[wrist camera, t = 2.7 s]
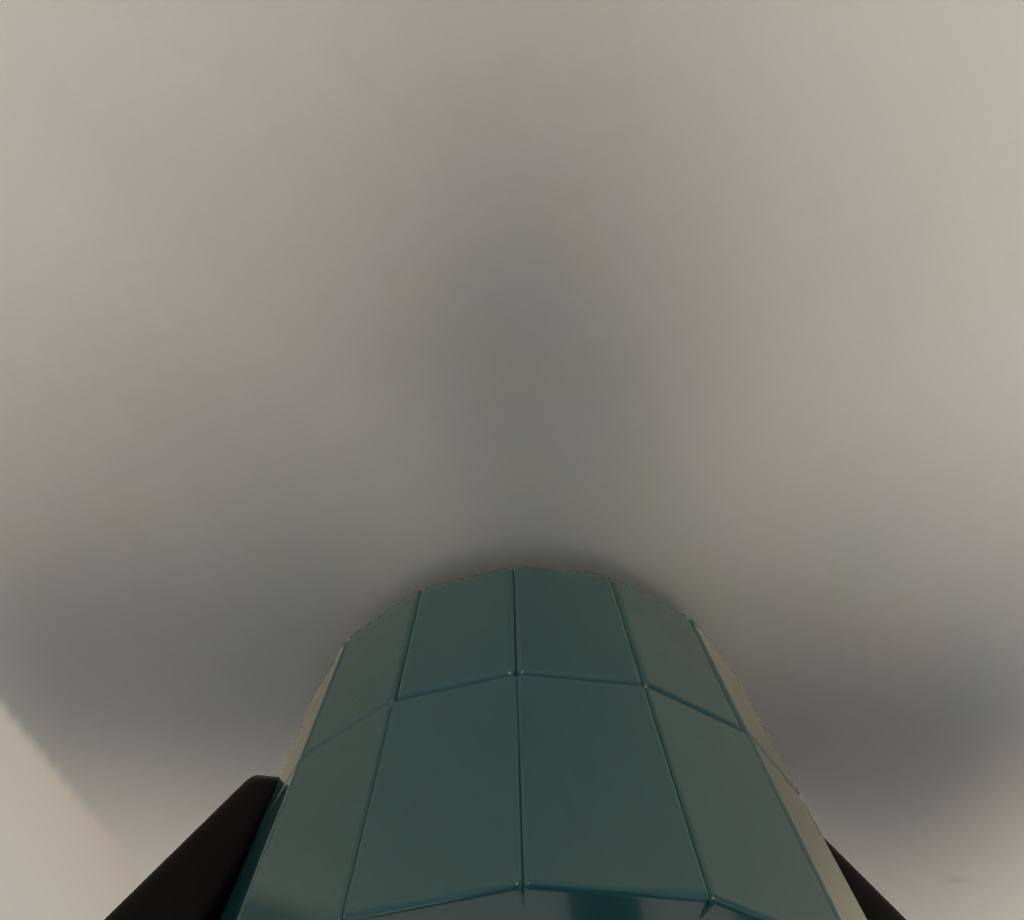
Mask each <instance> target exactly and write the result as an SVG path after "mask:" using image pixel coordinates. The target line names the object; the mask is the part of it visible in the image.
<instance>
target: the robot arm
mask: <svg viewBox="0 0 1024 920" xmlns="http://www.w3.org/2000/svg"><path fill="white" fill-rule="evenodd" d="M279 778H280V777H273V776H261V775H256V776H253V777H251V778H249V779H248V780H246V781H245V782H244V783H243V784H242V785H241V786H240V787H239V788H238V789H237V790H236V791H235V792H234V793H233V794H232V795H231V796H230V797H229V798H228V799H227V800H226V801H225V802H224V803H223V804H222V805H221V806H220V807H219V808H218V809H217V810H216V811H215V812H214V813H213V814H212V815H211V816H210V817H209V818H208V819H207V820H206V821H205V822H204V823H203V824H201V825H200V826H199V827H198V828H197V829H196V830H195V831H194V832H193V833H192V834H191V835H190V836H189V837H188V838H187V839H186V840H185V841H184V842H183V843H182V844H181V845H180V846H179V847H178V848H177V849H176V850H175V851H174V852H173V853H172V854H171V855H170V856H169V857H168V858H167V859H166V860H165V861H164V862H163V863H162V864H161V865H160V866H159V867H158V868H157V869H156V870H155V871H154V872H152V873H151V874H150V875H149V876H148V877H147V878H146V879H145V880H144V881H143V882H142V883H141V884H140V885H139V886H138V887H137V888H136V889H135V890H134V892H132V893H131V894H130V895H129V896H128V897H127V898H126V899H125V900H124V901H123V902H122V903H121V904H120V905H119V906H118V907H117V908H116V909H115V910H114V911H113V912H112V913H111V914H110V915H109V916H108V917H107V918H106V919H105V920H220V919H221V916H222V914H223V912H224V909H225V907H226V904H227V902H228V900H229V897H230V895H231V892H232V890H233V888H234V885H235V883H236V880H237V878H238V876H239V873H240V871H241V869H242V866H243V864H244V861H245V859H246V857H247V854H248V852H249V849H250V847H251V845H252V842H253V840H254V837H255V836H256V834H257V832H258V831H259V826H260V823H261V821H262V818H263V816H264V814H265V811H266V809H267V806H268V804H269V802H270V799H271V797H272V794H273V792H274V790H275V787H276V785H277V782H278V780H279ZM823 838H824V837H823ZM824 840H825V842H826V844H827V846H828V847H829V849H830V851H831V853H832V855H833V857H834V859H835V861H836V862H837V864H838V866H839V868H840V870H841V872H842V874H843V876H844V877H845V879H846V881H847V883H848V885H849V887H850V889H851V891H852V892H853V894H854V896H855V898H856V900H857V902H858V904H859V906H860V907H861V909H862V911H863V913H864V915H865V917H866V919H867V920H906V919H905V918H904V917H903V916H902V915H901V914H900V913H899V912H898V911H897V910H896V909H895V908H894V907H893V906H892V905H891V904H890V903H889V902H888V901H887V900H886V899H885V898H884V897H883V896H882V895H881V894H880V893H879V892H878V891H877V890H876V889H875V888H874V887H873V886H872V885H871V884H870V883H869V882H868V881H867V880H866V879H865V878H864V877H863V876H862V875H861V874H860V873H859V872H858V871H857V870H856V869H855V868H854V867H853V866H852V865H851V864H850V863H849V862H848V861H847V860H846V859H845V858H844V857H843V856H842V855H841V854H840V853H839V852H838V851H837V850H836V849H835V848H834V847H833V846H832V845H831V844H830V843H829V842H828V841H827V840H826V839H825V838H824Z"/></svg>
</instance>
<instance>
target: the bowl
mask: <svg viewBox="0 0 1024 920" xmlns="http://www.w3.org/2000/svg"><path fill="white" fill-rule="evenodd" d="M220 920H867V919H866V917H865V915H864V913H863V911H862V909H861V907H860V906H859V904H858V902H857V900H856V898H855V896H854V894H853V892H852V891H851V889H850V887H849V885H848V883H847V881H846V879H845V877H844V876H843V874H842V872H841V870H840V868H839V866H838V864H837V862H836V861H835V859H834V857H833V855H832V853H831V851H830V849H829V847H828V846H827V844H826V842H825V840H824V838H823V836H822V834H821V832H820V831H819V829H818V827H817V825H816V823H815V821H814V819H813V818H812V816H811V814H810V812H809V810H808V808H807V806H806V804H805V803H804V802H803V801H802V800H801V798H800V795H799V792H798V790H797V788H796V786H795V784H794V783H793V781H792V779H791V777H790V775H789V773H788V771H787V769H786V768H785V766H784V764H783V762H782V760H781V758H780V756H779V754H778V753H777V751H776V749H775V747H774V745H773V743H772V741H771V739H770V738H769V736H768V734H767V732H766V730H765V728H764V726H763V724H762V723H761V721H760V719H759V717H758V715H757V713H756V711H755V709H754V708H753V706H752V704H751V702H750V700H749V698H748V696H747V694H746V693H745V691H744V689H743V687H742V685H741V683H740V681H739V679H738V678H737V676H736V674H735V673H734V672H733V670H732V669H731V668H730V667H729V665H728V664H727V663H726V661H725V660H724V659H723V658H722V656H721V655H720V654H719V653H718V651H717V650H716V649H715V648H714V646H713V645H712V644H711V642H710V641H709V640H708V639H707V637H706V636H705V635H704V634H703V632H702V631H701V630H700V629H699V627H698V626H697V625H696V624H695V622H694V621H693V620H691V619H688V618H687V617H686V616H685V615H683V614H681V613H679V612H677V611H675V610H673V609H671V608H669V607H667V606H666V605H664V604H662V603H660V602H658V601H656V600H654V599H652V598H650V597H648V596H646V595H644V594H642V593H640V592H638V591H636V590H634V589H632V588H630V587H628V586H626V585H624V584H622V583H620V582H618V581H616V580H610V579H609V577H607V576H602V575H593V574H583V573H574V572H564V571H555V570H545V569H536V568H527V567H515V568H514V570H512V569H509V568H507V569H503V570H498V571H494V572H490V573H486V574H482V575H478V576H474V577H469V578H465V579H461V580H457V581H453V582H449V583H445V584H441V585H436V586H432V587H428V588H425V589H424V590H422V591H416V592H414V593H413V594H412V595H410V596H409V597H407V598H406V599H404V600H403V601H402V602H400V603H399V604H397V605H396V606H394V607H393V608H392V609H390V610H389V611H387V612H386V613H384V614H383V615H381V616H380V617H379V618H377V619H376V620H374V621H373V622H371V623H370V624H369V625H367V626H366V627H364V628H363V629H361V630H360V631H359V632H357V633H356V634H354V635H353V636H351V637H350V639H349V640H348V641H346V642H345V644H344V645H343V647H342V649H341V651H340V652H339V654H338V656H337V657H336V659H335V661H334V663H333V664H332V666H331V668H330V670H329V671H328V673H327V675H326V677H325V678H324V680H323V682H322V684H321V685H320V687H319V689H318V691H317V692H316V694H315V696H314V698H313V699H312V701H311V703H310V706H309V708H308V711H307V713H306V715H305V718H304V720H303V723H302V725H301V727H300V730H299V732H298V735H297V737H296V739H295V742H294V744H293V747H292V749H291V751H290V754H289V756H288V759H287V761H286V763H285V766H284V768H283V770H282V773H281V775H280V778H279V780H278V782H277V785H276V787H275V790H274V792H273V794H272V797H271V799H270V802H269V804H268V806H267V809H266V811H265V814H264V816H263V818H262V821H261V823H260V826H259V831H258V832H257V834H256V836H255V837H254V840H253V842H252V845H251V847H250V849H249V852H248V854H247V857H246V859H245V861H244V864H243V866H242V869H241V871H240V873H239V876H238V878H237V880H236V883H235V885H234V888H233V890H232V892H231V895H230V897H229V900H228V902H227V904H226V907H225V909H224V912H223V914H222V916H221V919H220Z"/></svg>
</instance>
